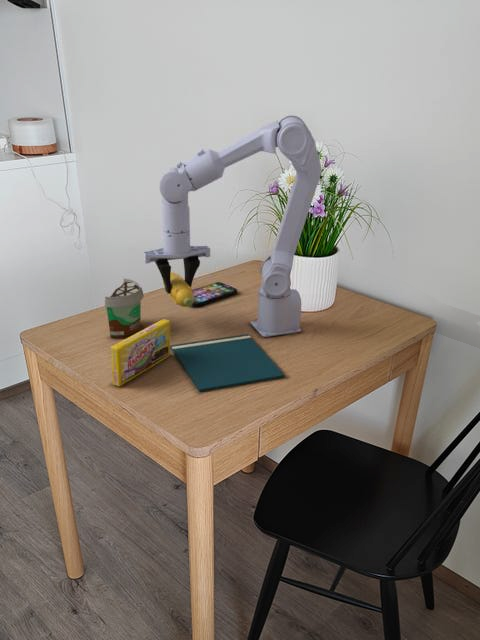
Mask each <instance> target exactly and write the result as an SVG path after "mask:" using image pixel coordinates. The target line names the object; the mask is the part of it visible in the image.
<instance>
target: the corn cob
mask: <svg viewBox="0 0 480 640" xmlns="http://www.w3.org/2000/svg"><path fill="white" fill-rule="evenodd" d="M170 282H171V293H170V294H168V295H169V297H170V298H171V299H172V301H173V302H174V304H175V305H179V306H180V307H184V308H186V307H188V308H189V307H193V306H192V304H193V300H194V295H193V293H192V291H191V290H192V286H191V287H190V286H189V285H188V284H187V283H186V282H185V278H184V277H182V275H180V274H179V273H176V272H172V271H171V275H170ZM162 284H163V286H164V287H165V285H164V281H163V280H162Z"/></svg>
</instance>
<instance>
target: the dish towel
mask: <svg viewBox="0 0 480 640" xmlns="http://www.w3.org/2000/svg"><path fill="white" fill-rule="evenodd" d="M170 350H171V351H172V353H173V354H174V356H175V357H176V359H177V360H178V361H179V363H180V364H181V366H182V368H183V369H184V371H185V372H186V374H187V375H188V377H189V378H190V380H191V381H192V383H193V384H194V386H195V387H196V389H197V390H198V392H199V393H202V392H206V391H213V390H219V389H225V388H232V387H237V386H242V385H249V384H255V383H260V382H265V381H266V382H267V381H271V380H277V379H283V378H285V377H286V374H285V373H284V372H283V371H282V370H281V368H279V367H278V366H277V365H276V364H275V362H274V361H273V360H272V359H271V358H270V357H269V355H267V354H266V353H265V352H264V350H263V349H262V348H261V347H260V346H259V345H258V344H257V342H255V341H254V339H253V338H252V336H250V335H249V334H248V333H246V334H239V335H233V336H225V337H218V338H212V339H205V340H199V341H191V342H184V343H178V344H170Z"/></svg>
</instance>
